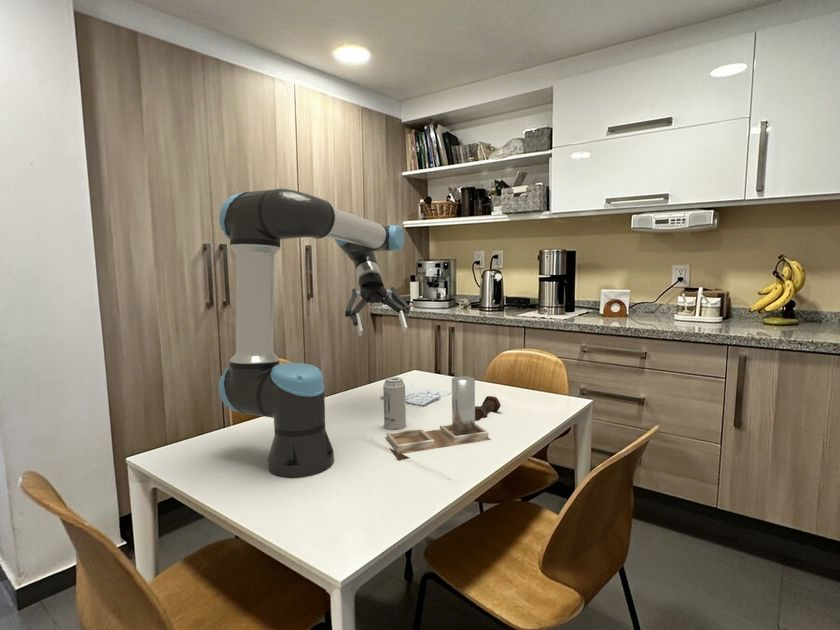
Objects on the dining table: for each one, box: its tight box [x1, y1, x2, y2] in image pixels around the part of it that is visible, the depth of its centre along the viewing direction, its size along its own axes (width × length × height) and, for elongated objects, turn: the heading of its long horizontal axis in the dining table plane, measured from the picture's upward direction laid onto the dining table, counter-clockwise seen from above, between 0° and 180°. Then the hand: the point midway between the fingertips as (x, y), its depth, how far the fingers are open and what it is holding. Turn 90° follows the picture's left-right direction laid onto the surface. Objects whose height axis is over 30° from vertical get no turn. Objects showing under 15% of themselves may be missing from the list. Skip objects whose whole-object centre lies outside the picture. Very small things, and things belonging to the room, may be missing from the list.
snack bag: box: [379, 384, 452, 407], centre depth 169 cm, size 19×20×2 cm
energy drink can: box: [382, 376, 407, 431], centre depth 132 cm, size 6×6×15 cm
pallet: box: [384, 423, 492, 461], centre depth 123 cm, size 25×12×3 cm, turn 110°
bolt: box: [475, 395, 502, 422], centre depth 144 cm, size 6×5×15 cm
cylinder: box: [451, 375, 476, 436], centre depth 125 cm, size 6×6×15 cm
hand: (383, 331), depth 140 cm, fingers open, 13 cm apart
